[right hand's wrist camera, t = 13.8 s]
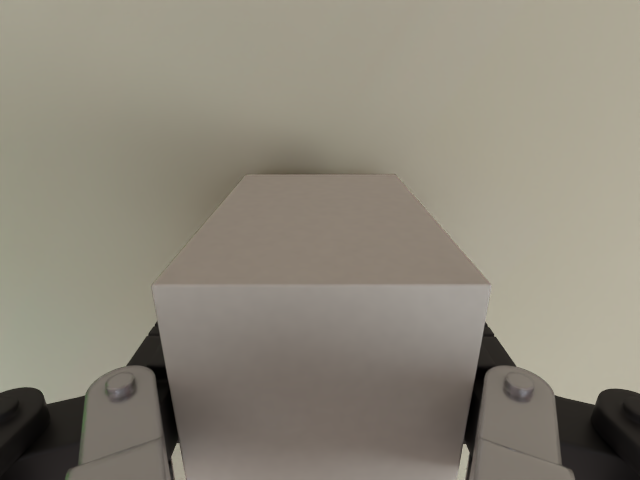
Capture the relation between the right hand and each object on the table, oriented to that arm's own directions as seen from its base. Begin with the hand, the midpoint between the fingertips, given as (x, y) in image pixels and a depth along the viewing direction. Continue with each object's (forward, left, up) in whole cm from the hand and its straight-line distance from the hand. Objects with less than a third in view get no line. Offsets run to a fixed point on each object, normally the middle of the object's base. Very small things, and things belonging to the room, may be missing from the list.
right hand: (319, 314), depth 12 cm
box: (+5, -8, -5) cm, 11 cm away
